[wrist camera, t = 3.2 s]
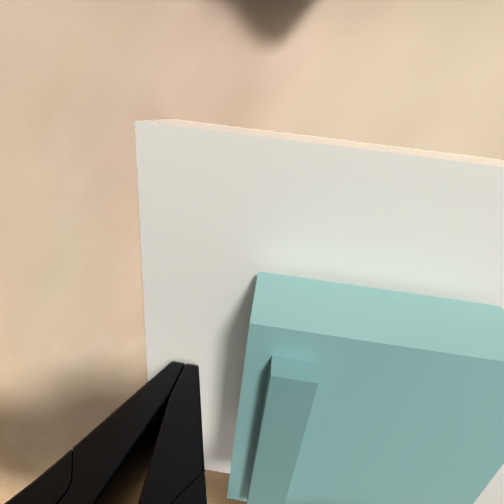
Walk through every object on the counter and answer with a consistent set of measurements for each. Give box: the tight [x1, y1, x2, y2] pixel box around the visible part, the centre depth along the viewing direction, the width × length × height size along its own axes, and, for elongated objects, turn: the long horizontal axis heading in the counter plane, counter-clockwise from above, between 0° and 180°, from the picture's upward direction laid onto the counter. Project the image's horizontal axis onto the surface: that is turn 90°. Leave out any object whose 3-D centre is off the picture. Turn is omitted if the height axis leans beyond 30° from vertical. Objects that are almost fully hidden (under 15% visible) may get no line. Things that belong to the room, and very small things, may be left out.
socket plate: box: [135, 119, 504, 504], centre depth 12 cm, size 19×14×3 cm
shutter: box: [227, 271, 504, 504], centre depth 9 cm, size 7×7×3 cm
